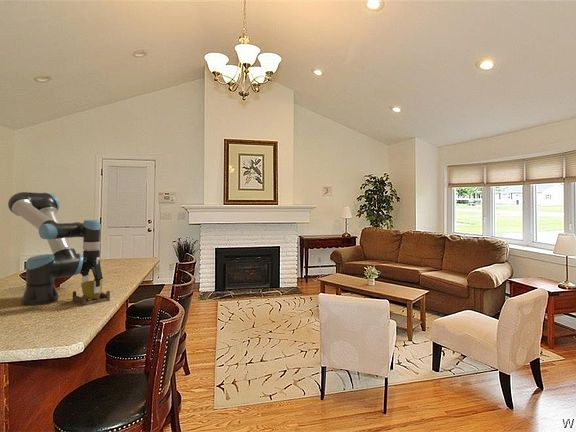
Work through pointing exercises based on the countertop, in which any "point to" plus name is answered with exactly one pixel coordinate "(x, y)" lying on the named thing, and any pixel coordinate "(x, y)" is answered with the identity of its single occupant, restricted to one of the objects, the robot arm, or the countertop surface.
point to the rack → (84, 301)
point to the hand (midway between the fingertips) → (91, 290)
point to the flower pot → (90, 290)
